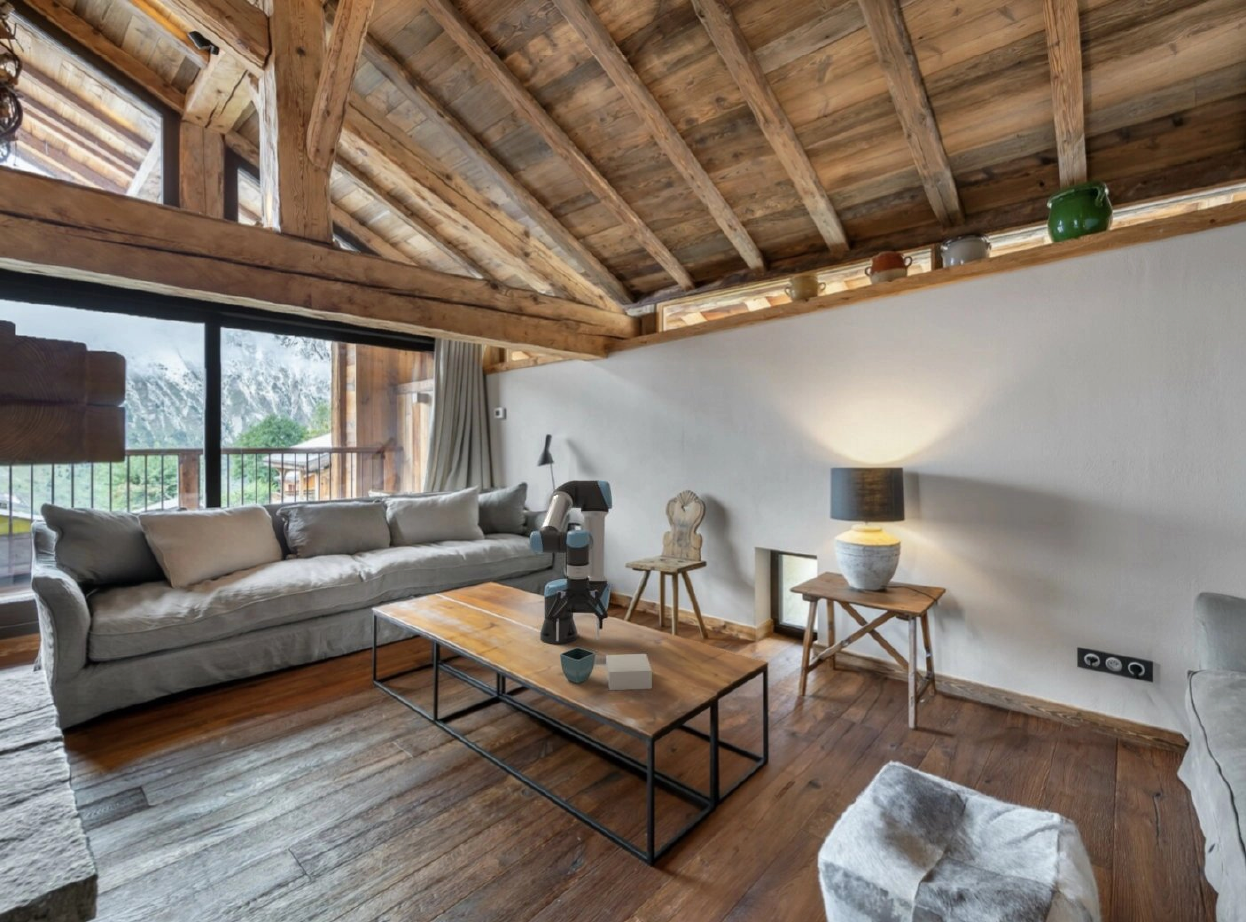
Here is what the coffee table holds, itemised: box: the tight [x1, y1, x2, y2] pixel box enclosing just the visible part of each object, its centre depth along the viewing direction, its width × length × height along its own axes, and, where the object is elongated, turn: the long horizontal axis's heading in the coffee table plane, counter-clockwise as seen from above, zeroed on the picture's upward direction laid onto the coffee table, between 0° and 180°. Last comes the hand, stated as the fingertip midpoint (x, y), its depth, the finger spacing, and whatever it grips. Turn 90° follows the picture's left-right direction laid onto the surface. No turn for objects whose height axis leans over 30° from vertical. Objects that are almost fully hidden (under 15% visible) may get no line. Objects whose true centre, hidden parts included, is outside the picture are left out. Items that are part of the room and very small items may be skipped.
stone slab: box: [605, 653, 653, 691], centre depth 188 cm, size 14×14×6 cm
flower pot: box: [559, 647, 596, 684], centre depth 188 cm, size 9×9×9 cm
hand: (577, 639), depth 187 cm, fingers open, 13 cm apart
